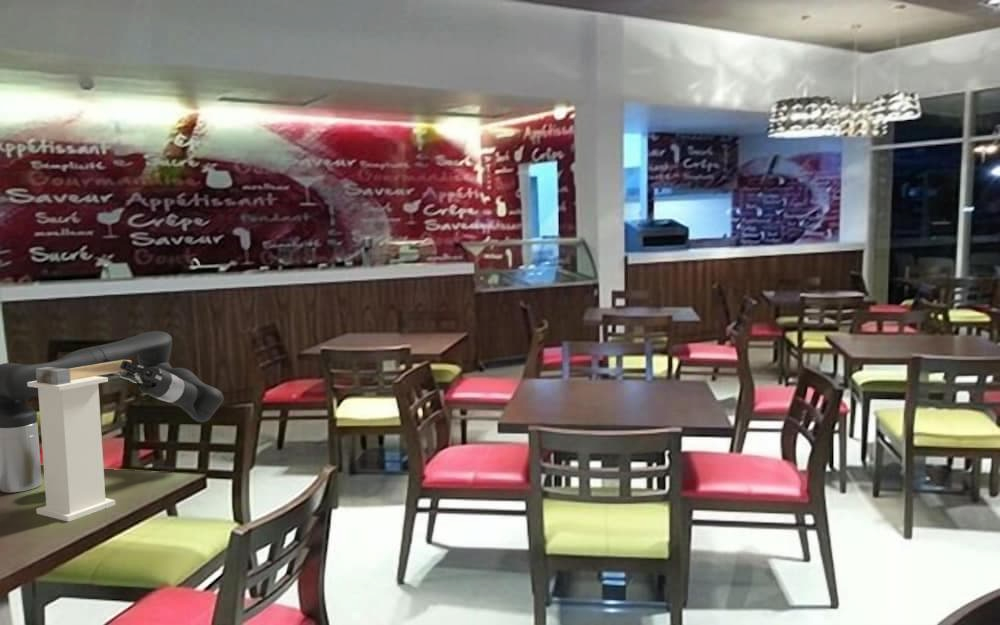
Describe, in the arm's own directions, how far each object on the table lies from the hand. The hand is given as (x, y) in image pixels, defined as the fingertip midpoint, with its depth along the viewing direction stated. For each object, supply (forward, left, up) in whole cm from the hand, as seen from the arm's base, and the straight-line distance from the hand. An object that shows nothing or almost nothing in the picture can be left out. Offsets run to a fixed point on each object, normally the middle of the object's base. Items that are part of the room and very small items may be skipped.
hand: (112, 363), depth 184 cm
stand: (0, -12, -34) cm, 36 cm away
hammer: (0, -6, -2) cm, 7 cm away
